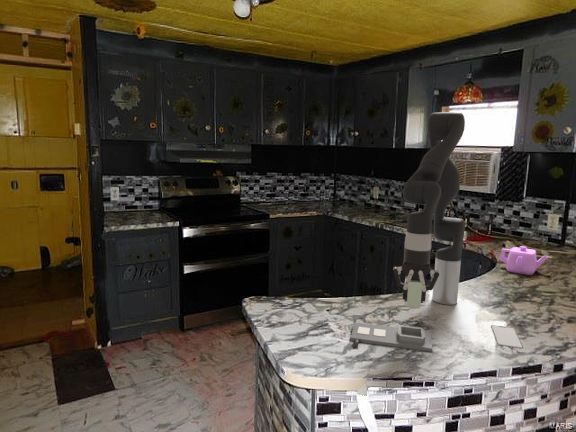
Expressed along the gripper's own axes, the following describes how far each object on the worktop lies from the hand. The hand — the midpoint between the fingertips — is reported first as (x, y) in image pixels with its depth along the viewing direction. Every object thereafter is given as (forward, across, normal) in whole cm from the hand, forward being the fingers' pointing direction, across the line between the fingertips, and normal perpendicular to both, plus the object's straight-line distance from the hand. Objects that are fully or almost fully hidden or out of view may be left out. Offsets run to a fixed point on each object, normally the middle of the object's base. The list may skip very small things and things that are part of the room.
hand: (413, 301), depth 129 cm
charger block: (+1, 0, 0) cm, 1 cm away
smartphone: (+13, -30, -12) cm, 35 cm away
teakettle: (+13, -56, -98) cm, 114 cm away
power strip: (+13, +6, +2) cm, 14 cm away
